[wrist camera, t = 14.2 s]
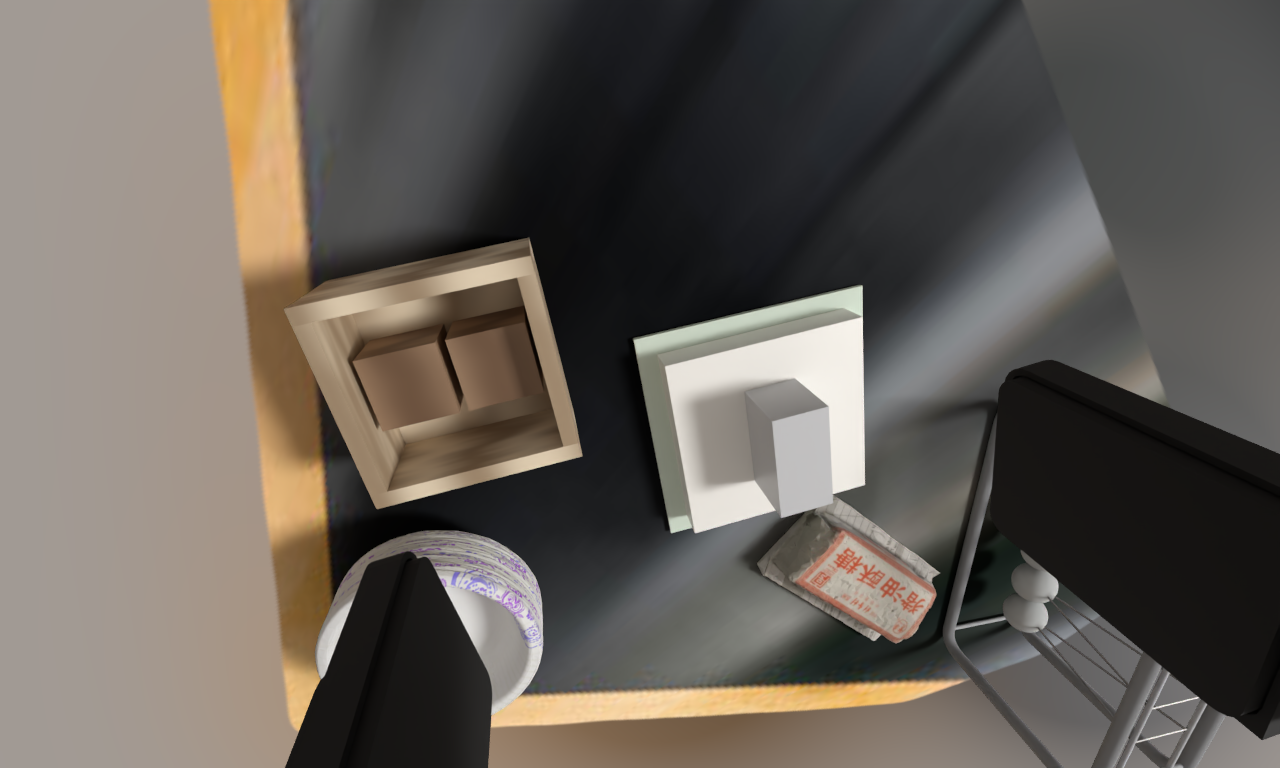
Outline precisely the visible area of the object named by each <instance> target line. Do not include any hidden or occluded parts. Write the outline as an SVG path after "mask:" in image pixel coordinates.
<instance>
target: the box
mask: <svg viewBox="0 0 1280 768" xmlns="http://www.w3.org/2000/svg"><path fill="white" fill-rule="evenodd" d="M284 311H285V314H286V316H287V318H288V320H289V322H290V324H291V327H292V329H293V331H294V333H295V335H296V337H297V339H298V342H299V344H300V346H301V348H302V350H303V352H304V354H305V357H306V359H307V361H308V363H309V365H310V367H311V369H312V372H313V374H314V376H315V378H316V380H317V382H318V384H319V387H320V389H321V391H322V393H323V395H324V397H325V399H326V402H327V404H328V406H329V408H330V410H331V412H332V415H333V417H334V419H335V421H336V423H337V425H338V427H339V430H340V432H341V434H342V436H343V438H344V440H345V442H346V445H347V447H348V449H349V451H350V453H351V455H352V457H353V460H354V462H355V464H356V466H357V468H358V470H359V472H360V475H361V477H362V479H363V481H364V483H365V485H366V487H367V490H368V492H369V494H370V496H371V498H372V500H373V503H374V505H375V507H376V509H379V508H383V507H387V506H391V505H395V504H399V503H403V502H406V501H410V500H414V499H418V498H422V497H426V496H430V495H434V494H438V493H441V492H445V491H449V490H453V489H457V488H461V487H465V486H469V485H473V484H476V483H480V482H484V481H488V480H492V479H496V478H500V477H504V476H508V475H511V474H515V473H519V472H523V471H527V470H531V469H535V468H539V467H543V466H546V465H550V464H554V463H558V462H562V461H566V460H570V459H574V458H577V457H581V456H582V452H581V447H580V441H579V436H578V431H577V426H576V421H575V416H574V411H573V407H572V403H571V399H570V395H569V391H568V387H567V383H566V380H565V376H564V372H563V368H562V364H561V360H560V356H559V352H558V348H557V345H556V341H555V337H554V333H553V329H552V325H551V321H550V317H549V313H548V309H547V306H546V302H545V298H544V294H543V290H542V286H541V282H540V278H539V274H538V271H537V267H536V263H535V259H534V255H533V251H532V247H531V243H530V239H529V238H525V239H520V240H516V241H511V242H506V243H502V244H497V245H492V246H487V247H483V248H478V249H473V250H469V251H464V252H459V253H454V254H450V255H445V256H440V257H436V258H431V259H426V260H421V261H417V262H412V263H407V264H403V265H398V266H393V267H388V268H384V269H379V270H374V271H370V272H365V273H360V274H355V275H351V276H346V277H341V278H337V279H332V280H327V281H325V282H324V283H322V284H321V285H319V286H318V287H316V288H315V289H313V290H312V291H310V292H309V293H307V294H306V295H304V296H302V297H301V298H299V299H298V300H296V301H295V302H293V303H292V304H290V305H289V306H287V307H286V308H284Z"/></svg>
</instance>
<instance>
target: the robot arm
mask: <svg viewBox="0 0 1280 768" xmlns="http://www.w3.org/2000/svg"><path fill="white" fill-rule="evenodd" d="M990 514H991V518H992V521H993V523H994V525H995V526H996V528H997V529H998V530H999V531H1000V532H1001V533H1002V534H1003V535H1004V536H1005V537H1006V538H1007V539H1009V540H1010V541H1011V542H1012V543H1014V544H1015V545H1016V546H1017V547H1018V548H1020V549H1021V550H1022V551H1023V552H1024V553H1026V554H1027V555H1028V556H1029V557H1030V558H1032V559H1033V560H1034V561H1035V562H1036V563H1038V564H1039V565H1040V566H1041V567H1042V568H1044V569H1045V570H1046V571H1047V572H1048V573H1050V574H1051V575H1052V576H1053V577H1054V578H1056V579H1057V580H1058V581H1059V582H1061V583H1062V584H1063V585H1064V586H1065V587H1067V588H1068V589H1069V590H1070V591H1071V592H1073V593H1074V594H1075V595H1076V596H1077V597H1079V598H1080V599H1081V600H1082V601H1083V602H1085V603H1086V604H1087V605H1088V606H1089V607H1091V608H1092V609H1093V610H1094V611H1095V612H1097V613H1098V614H1099V615H1100V616H1101V617H1103V618H1104V619H1105V620H1106V621H1108V622H1109V623H1110V624H1111V625H1112V626H1114V627H1115V628H1116V629H1117V630H1118V631H1120V632H1121V633H1122V634H1123V635H1124V636H1126V637H1127V638H1128V639H1129V640H1130V641H1132V642H1133V643H1134V644H1135V645H1137V646H1138V647H1139V648H1140V649H1141V650H1142V651H1144V652H1145V653H1146V654H1147V655H1148V656H1150V657H1151V658H1152V659H1153V660H1155V661H1156V662H1157V663H1158V664H1159V665H1161V666H1162V667H1163V668H1164V669H1165V670H1167V671H1168V672H1169V673H1170V674H1171V675H1173V676H1174V677H1175V678H1176V679H1177V680H1179V681H1180V682H1181V683H1182V684H1184V685H1185V686H1186V687H1187V688H1188V689H1190V690H1191V691H1192V692H1193V693H1194V694H1195V695H1197V696H1198V697H1199V698H1200V699H1201V700H1203V701H1204V702H1205V703H1206V704H1208V705H1209V706H1210V707H1212V708H1213V709H1215V710H1216V711H1218V712H1220V713H1222V714H1224V715H1226V716H1231V717H1234V718H1235V719H1237V720H1238V721H1239V722H1241V723H1242V724H1243V725H1244V726H1245V727H1246V728H1248V729H1249V730H1250V731H1251V732H1253V733H1254V734H1255V735H1256V736H1258V737H1259V738H1260V739H1261V740H1264V739H1267V738H1269V737H1272V736H1275V735H1277V734H1280V454H1278V453H1276V452H1274V451H1271V450H1269V449H1267V448H1264V447H1262V446H1259V445H1257V444H1255V443H1252V442H1249V441H1247V440H1245V439H1242V438H1240V437H1237V436H1235V435H1233V434H1230V433H1228V432H1226V431H1223V430H1221V429H1219V428H1216V427H1214V426H1211V425H1209V424H1207V423H1204V422H1202V421H1199V420H1197V419H1194V418H1192V417H1190V416H1187V415H1185V414H1183V413H1180V412H1178V411H1175V410H1173V409H1171V408H1168V407H1166V406H1163V405H1161V404H1159V403H1156V402H1154V401H1151V400H1149V399H1147V398H1144V397H1142V396H1139V395H1137V394H1135V393H1132V392H1130V391H1127V390H1125V389H1123V388H1120V387H1118V386H1115V385H1113V384H1111V383H1108V382H1106V381H1103V380H1101V379H1099V378H1096V377H1094V376H1091V375H1089V374H1087V373H1084V372H1082V371H1079V370H1077V369H1075V368H1072V367H1070V366H1067V365H1065V364H1063V363H1060V362H1058V361H1053V360H1045V361H1041V362H1038V363H1034V364H1031V365H1028V366H1024V367H1021V368H1018V369H1014V370H1013V371H1011V372H1009V374H1008V375H1007V377H1006V379H1005V382H1004V383H1003V384H1002V385H1001V386H1000V389H999V397H998V411H997V424H996V438H995V452H994V465H993V479H992V493H991V506H990ZM491 712H492V685H491V680H490V676H489V674H488V671H487V669H486V667H485V665H484V663H483V661H482V659H481V657H480V656H479V654H478V652H477V650H476V648H475V646H474V644H473V642H472V640H471V638H470V636H469V634H468V632H467V630H466V628H465V626H464V625H463V623H462V621H461V619H460V617H459V615H458V613H457V611H456V609H455V607H454V605H453V603H452V601H451V599H450V597H449V596H448V594H447V592H446V590H445V588H444V586H443V584H442V582H441V580H440V578H439V576H438V574H437V572H436V570H435V568H434V567H433V565H432V563H431V561H430V560H429V559H428V558H427V557H421V558H417V557H416V555H415V554H414V553H413V552H411V551H406V552H403V553H400V554H396V555H393V556H390V557H386V558H383V559H379V560H376V561H373V562H371V563H369V564H368V565H367V567H366V569H365V571H364V574H363V576H362V579H361V581H360V584H359V587H358V589H357V592H356V595H355V597H354V600H353V602H352V605H351V608H350V610H349V613H348V616H347V618H346V621H345V623H344V626H343V629H342V631H341V634H340V637H339V639H338V642H337V644H336V647H335V650H334V652H333V655H332V658H331V660H330V663H329V665H328V668H327V671H326V673H325V676H324V677H323V678H322V679H321V680H320V682H319V684H318V686H317V688H316V690H315V692H314V694H313V697H312V700H311V702H310V705H309V707H308V710H307V712H306V715H305V718H304V720H303V723H302V725H301V728H300V730H299V733H298V736H297V738H296V741H295V743H294V746H293V748H292V751H291V754H290V756H289V759H288V762H287V764H286V767H285V768H488V758H489V742H490V727H491Z"/></svg>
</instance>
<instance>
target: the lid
mask: <svg viewBox="0 0 1280 768" xmlns="http://www.w3.org/2000/svg"><path fill="white" fill-rule="evenodd" d="M657 357H658V362H659V368H660V373H661V379H662V384H663V390H664V395H665V400H666V406H667V411H668V417H669V422H670V427H671V433H672V438H673V444H674V449H675V455H676V460H677V465H678V471H679V476H680V482H681V487H682V492H683V498H684V503H685V509H686V514H687V517H688V519H689V521H690V524H691V526H692V528H693V530H694V532H695V533H698V532H702V531H705V530H709V529H712V528H716V527H719V526H723V525H726V524H730V523H733V522H737V521H740V520H744V519H747V518H751V517H754V516H758V515H761V514H765V513H768V512H772V511H775V510H776V511H777V513H778V514H779V516H780V517H781V518H783V517H787V516H790V515H794V514H797V513H801V512H804V511H808V510H811V509H815V508H818V507H822V506H825V505H829V504H832V503H833V494H835V493H838V492H842V491H845V490H849V489H852V488H856V487H859V486H863V485H865V450H864V382H863V317H862V316H860V315H858V314H855V313H853V312H851V311H849V310H847V309H845V308H843V309H839V310H835V311H831V312H827V313H823V314H819V315H815V316H811V317H807V318H803V319H799V320H795V321H791V322H787V323H782V324H778V325H774V326H770V327H766V328H762V329H758V330H754V331H750V332H746V333H742V334H738V335H734V336H730V337H726V338H722V339H718V340H714V341H710V342H706V343H702V344H698V345H694V346H690V347H686V348H682V349H678V350H674V351H670V352H666V353H662V354H658V355H657Z"/></svg>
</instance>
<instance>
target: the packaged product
mask: <svg viewBox="0 0 1280 768" xmlns="http://www.w3.org/2000/svg"><path fill="white" fill-rule="evenodd" d="M757 565H758V567H759V569H760V571H761V573H762V575H763V576H766V577H768V578H770V579H771V580H772V581H775V582H776V583H778V584H779V585H781V586H783V587H785V588H786V589H788V590H790V591H791V592H793V593H795V594H797V595H798V596H800V597H801V598H803V599H805V600H806V601H808V602H810V603H811V604H812V605H814V606H816V607H818V608H820V609H821V610H823V611H824V612H826V613H828V614H830V615H832V616H833V617H835V618H836V619H838V620H840V621H842V622H843V623H845V624H846V625H848V626H849V627H851V628H853V629H855V630H856V631H858V632H860V633H861V634H863V635H864V636H867V637H868V638H870V639H871V640H873V641H875V640H876V639H877V638H878V637H879V636H880V635H883V636H884V637H886V638H887V639H889V640H890V641H892V642H894V643H898V642H900V641H902V640H903V639H908V638H909V637H911V636H912V635H913V634H914V633H915V632H916V631H917V629H918V628H919V624H920V623H921V622H922V620H923V618H924V617H925V614H926V612H928V611H929V610H928V609H929V608H931V606H932V604H933V602H934V600H935V597H936V590H935V588H934V587H933V584H932V578H933V577H935V576H936V575H938V574H940V573H939V572H938V571H937V570H935V569H934V568H933V567H931V566H930V565H929V564H928V563H927V562H925V561H924V560H923V559H922V558H920V557H919V556H918V555H917V554H915V553H914V552H912V551H910V550H909V549H907V548H906V547H905V546H903V545H902V544H900V543H899V542H898V541H896V540H895V539H894V538H892V537H891V536H889V535H888V534H887V533H886V532H885V531H883V530H882V529H881V528H880V527H879V526H877V525H876V524H874V523H873V522H872V521H870V520H868V519H867V518H865V517H864V516H863V515H861V514H860V513H859V512H858V511H856V510H855V509H854V508H852V507H851V506H850V505H848V504H846V503H845V502H843V501H842V500H840V499H839V498H837V497H836V496H835V495H833V503H832V504H829V505H825V506H822V507H818V508H815V509H811V510H808V511H806V512H805V513H804V514H803V515H802V516H801V517H800V518H799V519H798V520H797V521H796V522H795V523H794V524H793V525H792V526H791V527H790V529H789V530H788V531H787V532H786V533H785V534H784V535H783V536H782V537H781V538H780V539H779V540H778V541H777V542H776V543H775V544H774V545H773V546H772V547H771V549H770V550H769V551H768V552H767V553H766V554H765V555H764V556H763V557H762V558H761V559H760V560H759V561H758V562H757Z"/></svg>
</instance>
